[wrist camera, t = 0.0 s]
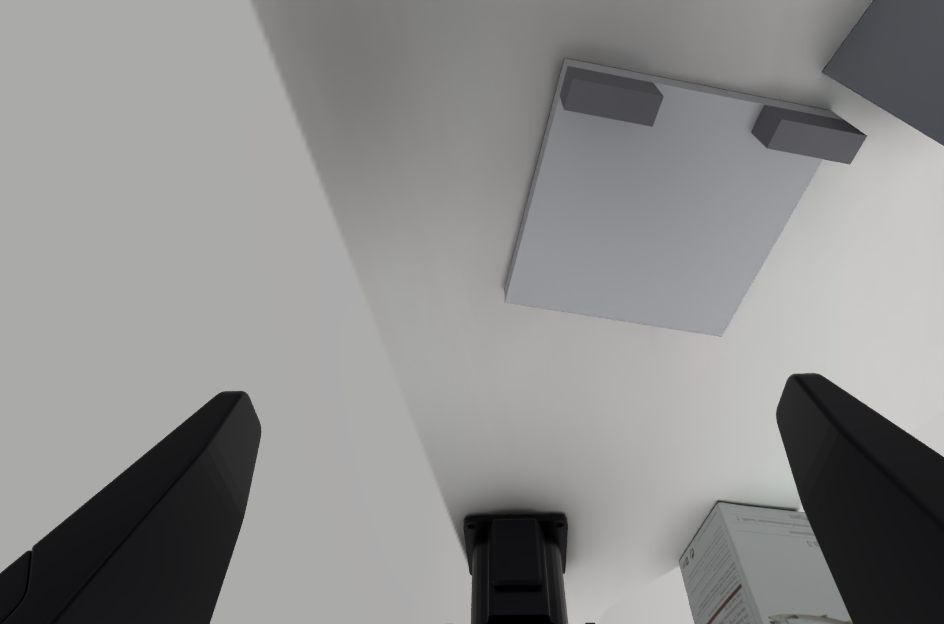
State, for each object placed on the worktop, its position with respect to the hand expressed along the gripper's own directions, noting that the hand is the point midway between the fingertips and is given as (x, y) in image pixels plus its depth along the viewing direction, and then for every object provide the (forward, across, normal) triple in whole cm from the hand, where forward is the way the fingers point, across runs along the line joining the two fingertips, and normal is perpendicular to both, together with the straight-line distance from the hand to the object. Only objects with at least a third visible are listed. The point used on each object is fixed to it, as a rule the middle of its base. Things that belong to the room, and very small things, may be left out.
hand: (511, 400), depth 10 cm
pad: (+15, -6, +4) cm, 16 cm away
